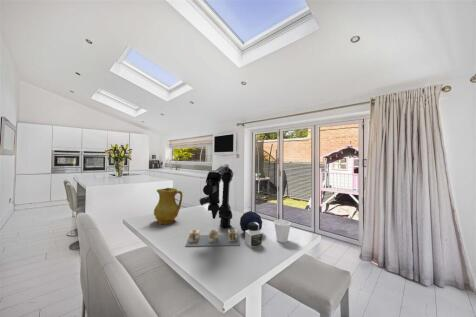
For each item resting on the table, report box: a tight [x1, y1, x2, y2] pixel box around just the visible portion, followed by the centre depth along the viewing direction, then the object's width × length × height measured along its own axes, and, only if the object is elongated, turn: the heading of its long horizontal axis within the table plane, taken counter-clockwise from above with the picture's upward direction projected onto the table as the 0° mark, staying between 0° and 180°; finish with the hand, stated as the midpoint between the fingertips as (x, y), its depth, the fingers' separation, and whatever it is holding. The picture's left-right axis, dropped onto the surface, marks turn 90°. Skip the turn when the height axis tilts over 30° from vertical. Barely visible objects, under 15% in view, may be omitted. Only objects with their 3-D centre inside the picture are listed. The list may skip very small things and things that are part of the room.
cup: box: [273, 219, 292, 244], centre depth 114 cm, size 10×10×11 cm
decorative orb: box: [239, 210, 263, 234], centre depth 124 cm, size 14×15×15 cm
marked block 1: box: [188, 229, 200, 242], centre depth 111 cm, size 5×5×5 cm
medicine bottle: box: [244, 222, 263, 248], centre depth 109 cm, size 7×7×12 cm
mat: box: [185, 234, 241, 248], centre depth 112 cm, size 30×14×1 cm, turn 95°
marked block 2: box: [227, 228, 238, 241], centre depth 113 cm, size 5×5×5 cm
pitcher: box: [153, 187, 183, 225], centre depth 143 cm, size 17×19×25 cm
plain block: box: [208, 229, 219, 242], centre depth 112 cm, size 5×5×5 cm
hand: (213, 218), depth 112 cm, fingers closed
